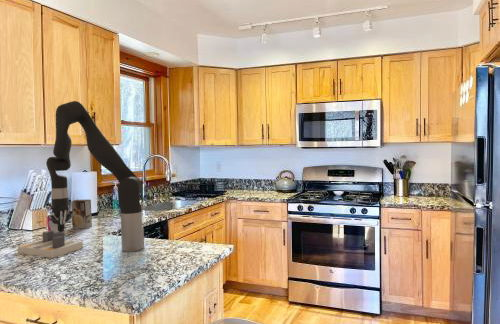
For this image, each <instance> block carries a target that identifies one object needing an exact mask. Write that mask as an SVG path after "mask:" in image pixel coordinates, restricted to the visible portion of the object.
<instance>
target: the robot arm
mask: <svg viewBox="0 0 500 324" xmlns="http://www.w3.org/2000/svg"><path fill="white" fill-rule="evenodd" d="M76 123H79V124H80V127H82V129H83V130H84V133H85V137H86V145H87V149H88V151H89V153H90V154H91V156H93V158H94V159H95V160H96V161H97V162H98V163H99V164H100V165H101V166H103V168H105V169H106V170H107V171H109V172H110V173H111V174H112V175H113V176H114V178H115V179H116V180H117V181H118V187H117V194H118V196H117V197H118V206H119V210H120V231H121V232H120V233H121V236H120V237H121V251H122V252H125V253H126V252H127V253H132V252H138V251H141V250H142V249H144V248H145V235H144V234H145V229H144V226H143V214H142V213H143V208H142V205H141V201H140V200H141V199H140V197H141V196H140V194H141V192H142V190H143V183H142V181H141V179H140V178H139V177H138V176H137V175H136V174H135V173H134V172H133V171H132V170H131V169H130V168H129V166H127V164H126V163H125V161H124V160H123V159H122V157H121V156H120V155H119V153H118V152H117V151H116V149H115V148H114V146H113V145H112V143H111V142H110V141H109V140H108V139H107V138H106V136H105V135H104V134H103V132H102V130H100V128H99V127H98V126H97V125H96V123H95V122H94V120H93V118H92V117H91V115H90V113H89V112H88V111H87V109H86V108H85V106H84V105H83V104H82V103H81V102H80V101H77V100H74V101H73V100H71V101H69V102H66V103H63V104H59V105H58V107H56V109H55V141H54V146H53V150H52V152H53V155H54V156H50V157H47V160H46V167H47V171H48V173H49V177H50V182H51V187H50V188H51V190H50V191H51V192H50V193H51V195H50V198H51V199H50V200H51V207H52V210H51V213H50V214H48V215H47V219H48V218H49V219H50V220H51V221H52V222H53V223H54V224H57V225H58V231H59V232H65V229H66V228H65V224H66V223H68V222H69V220H70V218H72V213H73V211H72V210H70V209H69V203H70V202H69V198H70V197H69V189H68V178H67V175H62V174H61V175H60V174H58V173H57V172H61V171H62V172H65V171H68V170H69V169H70V168H71V166H72V163H71V159H70V158H71V157H70V153H71V149H72V138H71V136H70V134H69V132H68V130H69V128H70V125H73V124H76Z"/></svg>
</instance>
